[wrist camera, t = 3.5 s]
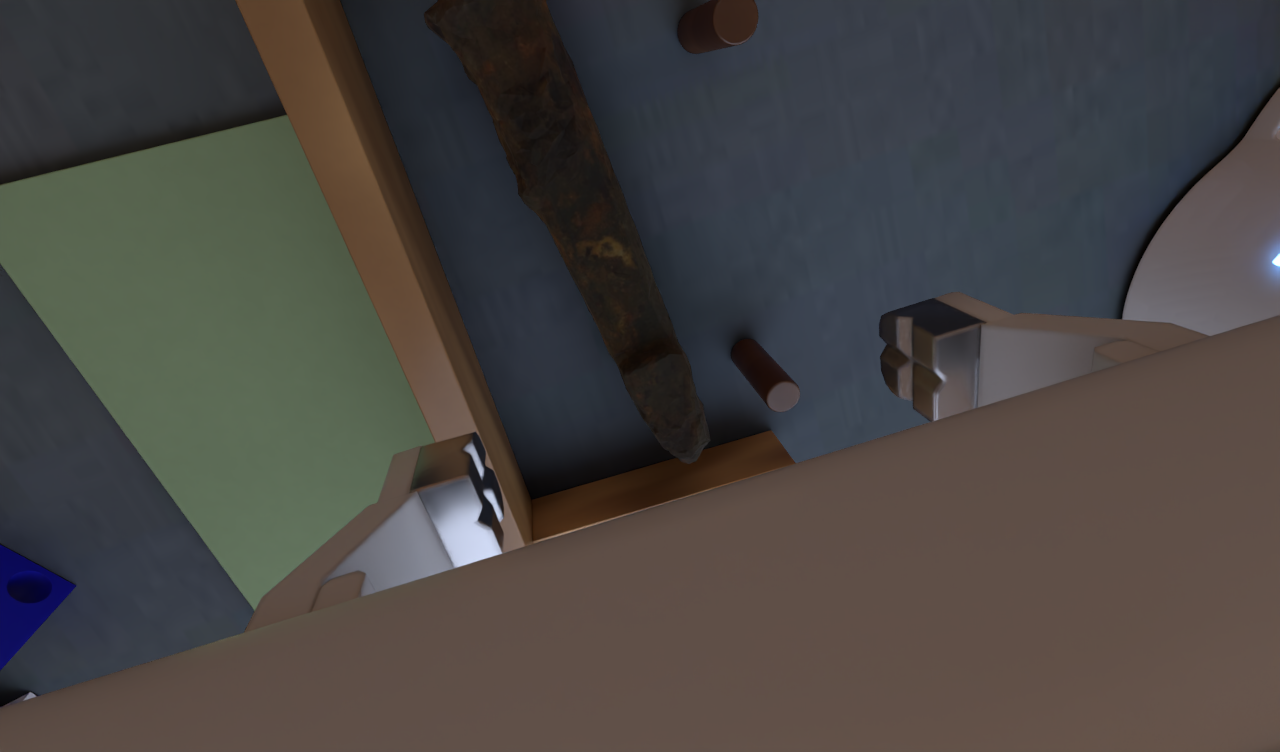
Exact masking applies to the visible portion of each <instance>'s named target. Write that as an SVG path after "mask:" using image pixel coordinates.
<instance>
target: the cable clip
mask: <svg viewBox="0 0 1280 752" xmlns="http://www.w3.org/2000/svg"><path fill="white" fill-rule="evenodd" d="M75 587H76V585H74V584H72V583H70V582H68V581H67V580H65V579H63V578H61V577H59V576H57V575H56V574H54V573H52V572H50V571H48V570H46V569H44V568H43V567H41V566H39V565H37V564H35V563H33V562H32V561H30V560H28V559H26V558H24V557H22V556H20V555H19V554H17V553H15V552H13V551H11V550H9V549H8V548H6V547H4V546H2V545H0V670H1V669H2V668H3V667H4V666H5V665H6V664H7V662H8V661H9V660H10V659H11V658H12V657H13V656H14V655H15V654H16V652H17V651H18V650H19V649H20V648H21V647H22V646H23V645H24V644H25V642H26V641H27V640H28V639H29V638H30V637H31V636H32V635H33V634H34V632H35V631H36V630H37V629H38V628H39V627H40V626H41V625H42V624H43V622H44V621H45V620H46V619H47V618H48V617H49V616H50V615H51V614H52V612H53V611H54V610H55V609H56V608H57V607H58V606H59V605H60V604H61V602H62V601H63V600H64V599H65V598H66V597H67V596H68V595H69V594H70V592H71V591H72V590H73V589H74V588H75Z"/></svg>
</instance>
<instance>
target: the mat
mask: <svg viewBox="0 0 1280 752" xmlns="http://www.w3.org/2000/svg"><path fill="white" fill-rule="evenodd" d="M0 264H1V265H2V266H3V268H4V269H5V270H6V272H7V273H8V275H9V276H10V277H11V279H12V280H13V281H14V283H15V284H16V286H17V287H18V288H19V290H20V291H21V292H22V294H23V295H24V296H25V298H26V299H27V301H28V302H29V303H30V305H31V306H32V307H33V309H34V310H35V311H36V313H37V314H38V316H39V317H40V318H41V320H42V321H43V322H44V324H45V325H46V326H47V328H48V329H49V331H50V332H51V333H52V335H53V336H54V337H55V339H56V340H57V342H58V343H59V344H60V346H61V347H62V348H63V350H64V351H65V352H66V354H67V355H68V357H69V358H70V359H71V361H72V362H73V363H74V365H75V366H76V367H77V369H78V370H79V372H80V373H81V374H82V376H83V377H84V378H85V380H86V381H87V382H88V384H89V385H90V387H91V388H92V389H93V391H94V392H95V393H96V395H97V396H98V397H99V399H100V400H101V402H102V403H103V404H104V406H105V407H106V408H107V410H108V411H109V413H110V414H111V415H112V417H113V418H114V419H115V421H116V422H117V423H118V425H119V426H120V428H121V429H122V430H123V432H124V433H125V434H126V436H127V437H128V438H129V440H130V441H131V443H132V444H133V445H134V447H135V448H136V449H137V451H138V452H139V453H140V455H141V456H142V458H143V459H144V460H145V462H146V463H147V464H148V466H149V467H150V469H151V470H152V471H153V473H154V474H155V475H156V477H157V478H158V479H159V481H160V482H161V484H162V485H163V486H164V488H165V489H166V490H167V492H168V493H169V494H170V496H171V497H172V499H173V500H174V501H175V503H176V504H177V505H178V507H179V508H180V509H181V511H182V512H183V514H184V515H185V516H186V518H187V519H188V520H189V522H190V523H191V525H192V526H193V527H194V529H195V530H196V531H197V533H198V534H199V535H200V537H201V538H202V540H203V541H204V542H205V544H206V545H207V546H208V548H209V549H210V550H211V552H212V553H213V555H214V556H215V557H216V559H217V560H218V561H219V563H220V564H221V565H222V567H223V568H224V570H225V571H226V572H227V574H228V575H229V576H230V578H231V579H232V581H233V582H234V583H235V585H236V586H237V587H238V589H239V590H240V591H241V593H242V594H243V596H244V597H245V598H246V600H247V601H248V602H249V604H250V605H251V606H252V608H253V609H254V611H255V610H256V608H257V606H258V604H259V602H260V600H261V598H262V597H263V596H264V595H265V594H266V593H268V592H269V591H270V590H271V589H272V588H273V587H275V586H276V585H277V584H278V583H279V582H280V581H282V580H283V579H284V578H285V577H286V576H287V575H289V574H290V573H291V572H292V571H293V570H294V569H296V568H297V567H298V566H299V565H300V564H301V563H302V562H304V561H305V560H306V559H307V558H308V557H309V556H311V555H312V554H313V553H314V552H315V551H316V550H318V549H319V548H320V547H321V546H322V545H323V544H325V543H326V542H327V541H328V540H329V539H330V538H332V537H333V536H334V535H335V534H336V533H337V532H338V531H340V530H341V529H342V528H343V527H344V526H345V525H347V524H348V523H349V522H350V521H351V520H352V519H354V518H355V517H356V516H357V515H358V514H359V513H361V512H362V511H363V510H364V509H365V508H366V507H368V506H369V505H371V504H375V503H377V502H378V499H379V496H380V493H381V490H382V487H383V484H384V481H385V478H386V475H387V472H388V469H389V466H390V463H391V460H392V457H393V455H394V454H397V453H400V452H403V451H406V450H409V449H412V448H415V447H418V446H424V445H428V444H431V443H435V441H434V439H433V437H432V434H431V432H430V430H429V428H428V425H427V423H426V421H425V419H424V417H423V414H422V412H421V410H420V408H419V406H418V403H417V401H416V399H415V397H414V394H413V392H412V390H411V388H410V386H409V383H408V381H407V379H406V377H405V375H404V372H403V370H402V368H401V366H400V363H399V361H398V359H397V357H396V355H395V352H394V350H393V348H392V346H391V344H390V341H389V339H388V337H387V335H386V333H385V330H384V328H383V326H382V324H381V321H380V319H379V317H378V315H377V313H376V310H375V308H374V306H373V304H372V302H371V299H370V297H369V295H368V293H367V290H366V288H365V286H364V284H363V282H362V279H361V277H360V275H359V273H358V271H357V268H356V266H355V264H354V262H353V260H352V257H351V255H350V253H349V251H348V248H347V246H346V244H345V242H344V240H343V237H342V235H341V233H340V231H339V229H338V226H337V224H336V222H335V220H334V217H333V215H332V213H331V211H330V209H329V206H328V204H327V202H326V200H325V198H324V195H323V193H322V191H321V189H320V186H319V184H318V182H317V180H316V178H315V175H314V173H313V171H312V169H311V167H310V164H309V162H308V160H307V158H306V156H305V153H304V151H303V149H302V147H301V144H300V142H299V140H298V138H297V136H296V133H295V131H294V129H293V127H292V125H291V122H290V120H289V118H288V116H287V115H284V116H279V117H275V118H271V119H267V120H263V121H259V122H255V123H251V124H247V125H243V126H239V127H234V128H230V129H226V130H222V131H218V132H214V133H210V134H206V135H202V136H198V137H193V138H189V139H185V140H181V141H177V142H173V143H169V144H165V145H161V146H157V147H153V148H148V149H144V150H140V151H136V152H132V153H128V154H124V155H120V156H116V157H112V158H107V159H103V160H99V161H95V162H91V163H87V164H83V165H79V166H75V167H71V168H66V169H62V170H58V171H54V172H50V173H46V174H42V175H38V176H34V177H30V178H26V179H21V180H17V181H13V182H9V183H5V184H1V185H0Z"/></svg>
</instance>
